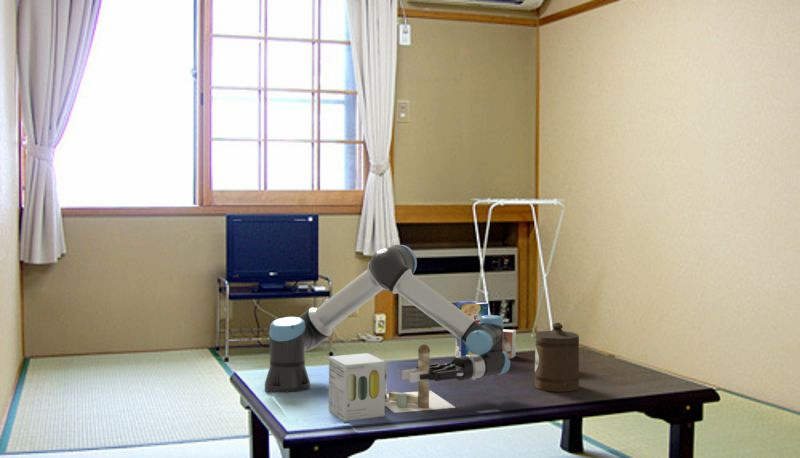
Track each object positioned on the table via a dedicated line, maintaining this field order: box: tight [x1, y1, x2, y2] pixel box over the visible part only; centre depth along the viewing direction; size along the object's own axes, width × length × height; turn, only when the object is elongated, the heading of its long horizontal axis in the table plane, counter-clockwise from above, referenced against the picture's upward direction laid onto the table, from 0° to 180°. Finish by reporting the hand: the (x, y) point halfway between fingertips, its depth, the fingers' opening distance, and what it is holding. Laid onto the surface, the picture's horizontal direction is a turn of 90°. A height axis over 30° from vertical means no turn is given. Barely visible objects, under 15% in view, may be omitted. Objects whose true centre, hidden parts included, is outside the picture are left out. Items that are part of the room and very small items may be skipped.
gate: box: [388, 344, 431, 408], centre depth 284 cm, size 14×4×19 cm, turn 59°
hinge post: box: [385, 361, 389, 402], centre depth 289 cm, size 4×4×12 cm
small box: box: [503, 328, 517, 360], centre depth 360 cm, size 8×6×10 cm
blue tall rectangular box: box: [454, 300, 489, 358], centre depth 355 cm, size 7×11×22 cm, turn 106°
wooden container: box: [534, 322, 580, 393], centre depth 311 cm, size 15×15×22 cm
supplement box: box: [328, 352, 386, 424], centre depth 274 cm, size 13×13×18 cm
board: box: [385, 390, 456, 414], centre depth 289 cm, size 20×22×1 cm
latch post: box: [397, 392, 407, 408], centre depth 282 cm, size 3×3×4 cm
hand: (406, 376), depth 278 cm, fingers closed on gate, 3 cm apart
